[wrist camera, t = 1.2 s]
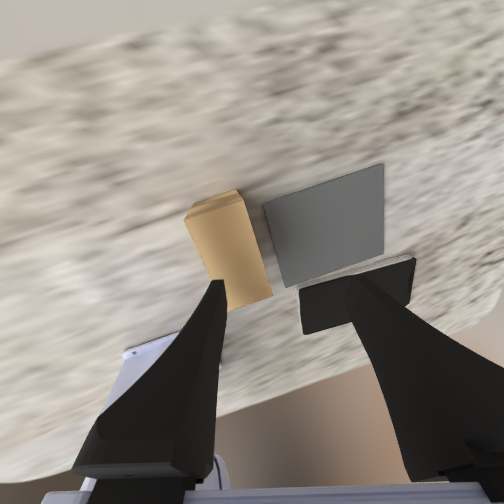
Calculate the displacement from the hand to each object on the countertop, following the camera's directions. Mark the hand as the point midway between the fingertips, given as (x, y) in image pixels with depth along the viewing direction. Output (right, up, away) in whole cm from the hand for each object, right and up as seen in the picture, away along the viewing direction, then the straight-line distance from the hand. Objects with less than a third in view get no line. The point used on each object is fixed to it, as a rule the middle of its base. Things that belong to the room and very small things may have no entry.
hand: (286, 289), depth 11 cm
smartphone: (+11, -3, +15) cm, 19 cm away
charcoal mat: (+6, +4, +10) cm, 12 cm away
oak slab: (-4, +4, +8) cm, 10 cm away
